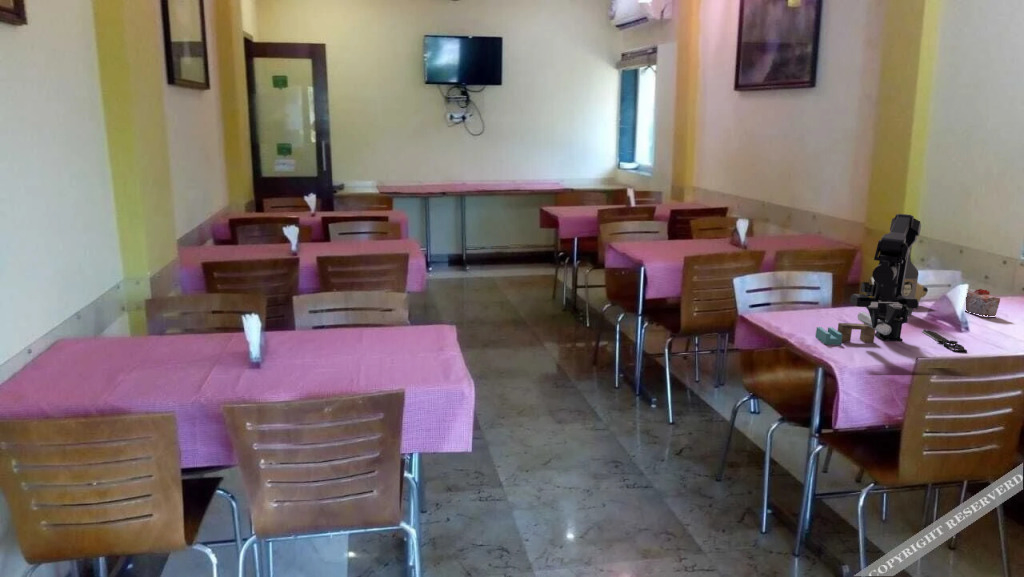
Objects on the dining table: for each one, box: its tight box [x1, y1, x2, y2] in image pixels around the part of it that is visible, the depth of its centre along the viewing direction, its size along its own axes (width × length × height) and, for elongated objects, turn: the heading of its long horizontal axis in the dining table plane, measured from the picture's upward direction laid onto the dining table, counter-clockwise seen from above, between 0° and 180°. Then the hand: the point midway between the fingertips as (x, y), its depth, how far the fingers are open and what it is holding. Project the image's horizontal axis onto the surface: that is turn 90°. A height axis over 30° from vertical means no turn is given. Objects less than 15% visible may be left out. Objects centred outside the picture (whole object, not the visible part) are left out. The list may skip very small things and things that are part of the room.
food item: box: [966, 288, 1001, 316], centre depth 293 cm, size 14×8×10 cm, turn 12°
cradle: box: [815, 326, 843, 346], centre depth 251 cm, size 5×8×4 cm, turn 0°
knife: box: [921, 329, 968, 354], centre depth 256 cm, size 25×6×1 cm, turn 171°
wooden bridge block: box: [837, 322, 876, 343], centre depth 252 cm, size 11×3×5 cm, turn 90°
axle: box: [857, 311, 891, 335], centre depth 240 cm, size 3×16×3 cm, turn 0°
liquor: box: [902, 245, 919, 317], centre depth 288 cm, size 9×9×30 cm
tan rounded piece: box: [915, 281, 929, 302], centre depth 303 cm, size 10×12×11 cm
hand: (879, 328), depth 236 cm, fingers closed on axle, 3 cm apart
